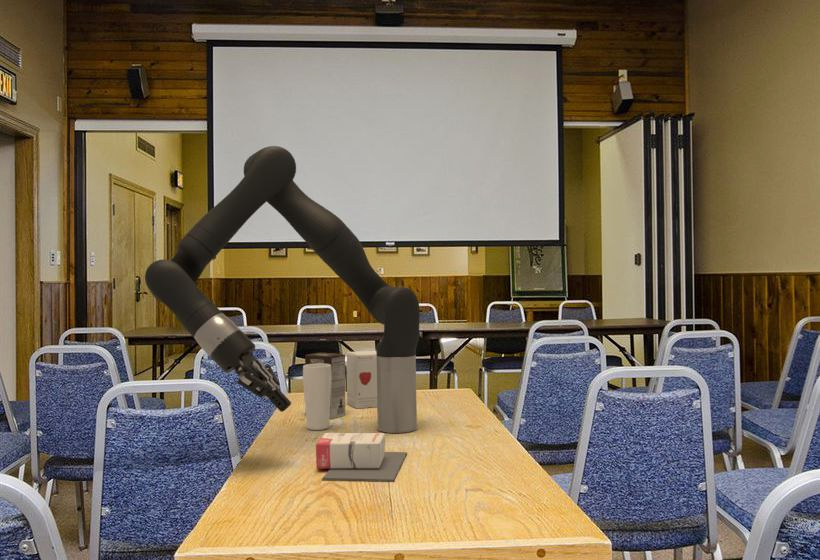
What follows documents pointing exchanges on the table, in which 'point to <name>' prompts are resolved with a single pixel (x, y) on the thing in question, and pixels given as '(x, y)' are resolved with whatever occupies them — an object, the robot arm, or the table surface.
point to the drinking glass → (317, 395)
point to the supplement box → (362, 379)
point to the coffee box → (333, 380)
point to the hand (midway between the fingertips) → (286, 407)
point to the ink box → (350, 450)
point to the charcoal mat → (370, 470)
